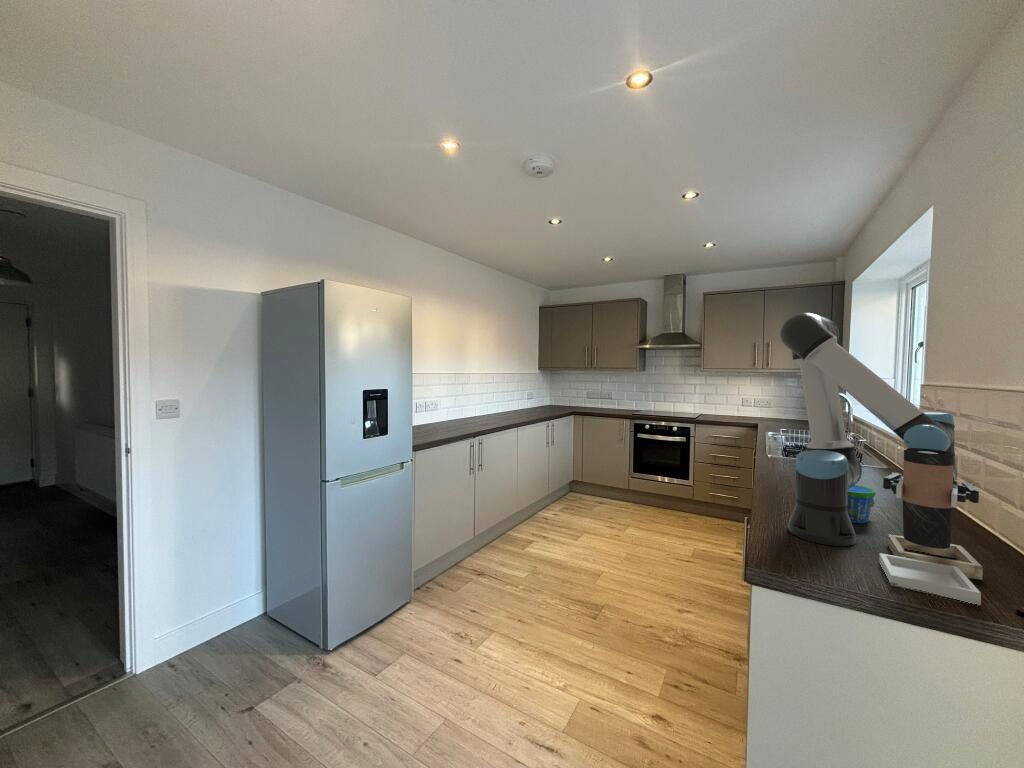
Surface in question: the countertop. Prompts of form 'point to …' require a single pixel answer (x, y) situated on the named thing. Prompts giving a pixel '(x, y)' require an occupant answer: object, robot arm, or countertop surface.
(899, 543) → the wooden holder
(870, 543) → the countertop surface
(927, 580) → the grey tray
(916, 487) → the travel mug
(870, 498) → the snack cup
